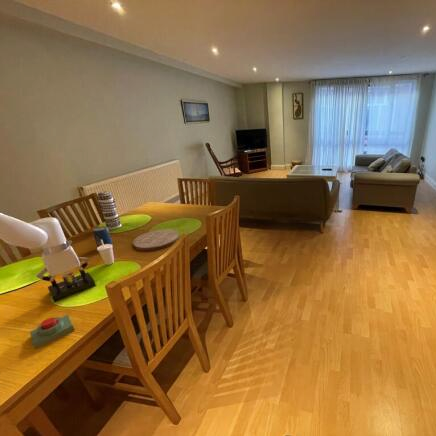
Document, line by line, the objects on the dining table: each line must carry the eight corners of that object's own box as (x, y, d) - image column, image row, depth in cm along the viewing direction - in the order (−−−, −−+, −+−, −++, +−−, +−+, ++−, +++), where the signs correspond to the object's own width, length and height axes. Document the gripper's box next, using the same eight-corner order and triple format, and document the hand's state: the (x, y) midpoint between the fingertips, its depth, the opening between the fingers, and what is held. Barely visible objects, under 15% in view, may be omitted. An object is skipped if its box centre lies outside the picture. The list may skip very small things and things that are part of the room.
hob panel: (54, 302, 98) (51, 296, 96) (50, 292, 104) (47, 286, 102) (96, 285, 108) (94, 280, 106) (90, 277, 114) (88, 271, 112)
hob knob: (66, 287, 102) (62, 277, 100) (65, 283, 104) (61, 274, 102) (77, 283, 105) (73, 274, 103) (75, 279, 107) (72, 270, 105)
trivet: (187, 233, 158) (187, 230, 157) (162, 252, 135) (161, 249, 134) (153, 230, 162) (153, 228, 161) (123, 248, 139) (122, 245, 138)
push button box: (35, 349, 78) (30, 340, 76) (32, 336, 83) (27, 327, 81) (75, 330, 85) (71, 321, 84) (69, 319, 90) (66, 310, 88)
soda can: (113, 243, 145) (107, 225, 140) (112, 247, 140) (106, 229, 135) (98, 246, 141) (92, 227, 137) (98, 251, 136) (91, 232, 132)
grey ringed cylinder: (123, 226, 168) (113, 192, 158) (107, 230, 161) (96, 195, 152) (120, 222, 173) (110, 189, 164) (104, 226, 167) (93, 192, 158)
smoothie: (99, 267, 121) (91, 242, 116) (106, 260, 127) (98, 236, 122) (114, 265, 123) (106, 241, 117) (119, 259, 128) (112, 235, 123)
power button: (43, 331, 80) (41, 327, 79) (42, 325, 82) (40, 322, 82) (58, 324, 83) (56, 320, 82) (56, 319, 85) (54, 315, 84)
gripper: (80, 237, 106) (92, 270, 113) (24, 253, 94) (41, 289, 100) (85, 242, 102) (97, 276, 108) (26, 259, 89) (45, 296, 96)
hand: (70, 282), depth 104 cm, fingers open, 8 cm apart
